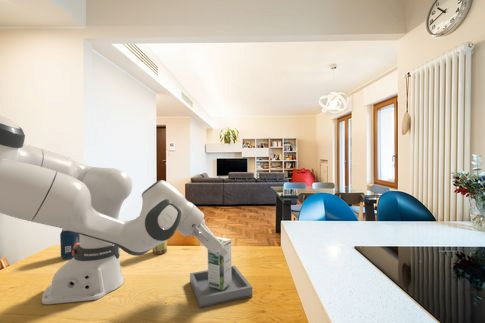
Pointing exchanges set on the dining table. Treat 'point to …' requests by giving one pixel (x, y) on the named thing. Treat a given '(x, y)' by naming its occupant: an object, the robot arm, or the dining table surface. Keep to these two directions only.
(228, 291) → the tray
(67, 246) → the soda can
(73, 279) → the robot arm
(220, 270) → the syrup box
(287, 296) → the dining table surface
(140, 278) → the dining table surface
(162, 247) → the sauce bottle
